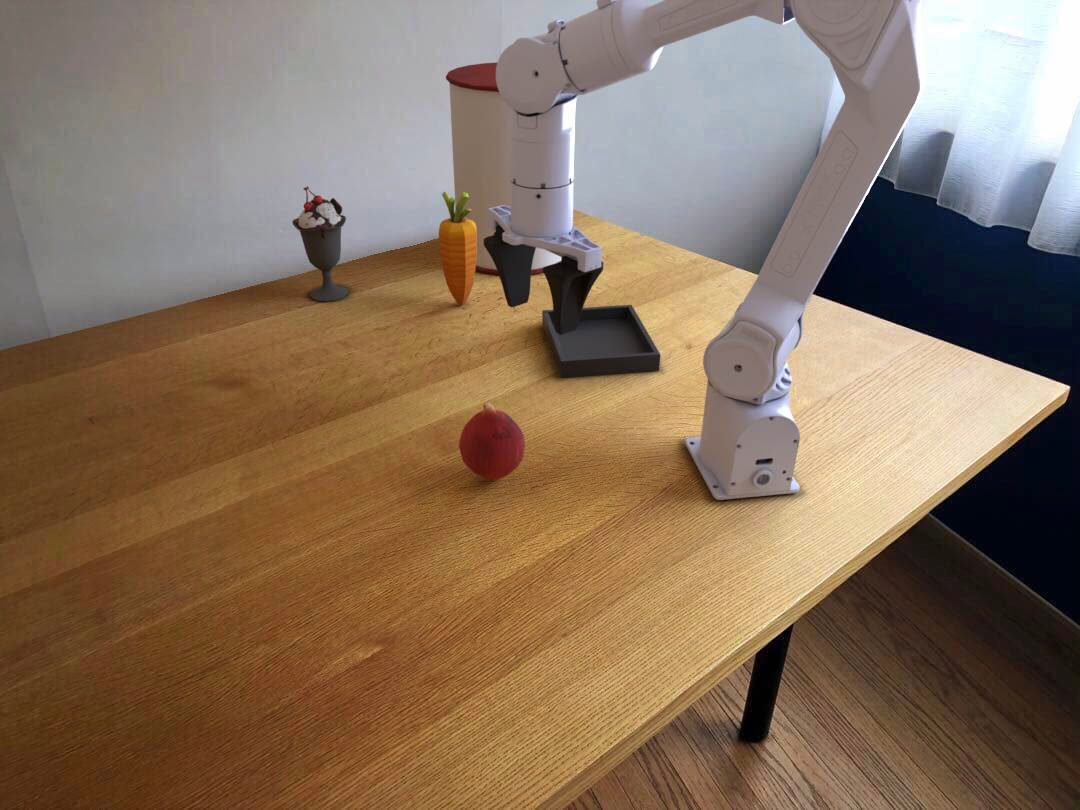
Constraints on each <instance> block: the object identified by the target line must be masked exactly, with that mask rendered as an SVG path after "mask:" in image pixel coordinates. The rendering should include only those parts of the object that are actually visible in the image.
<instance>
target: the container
mask: <svg viewBox="0 0 1080 810" xmlns="http://www.w3.org/2000/svg"><path fill="white" fill-rule="evenodd" d="M496 66H497V62H484V63H476V64H475V63H474V64H469V65H463V66H459V67H456V68H454V69H451V70H449V71H448V72H447V73H446V75H445V80H446V81H447V82H448V83H449V84H448V85H449V103H450V122H451V123H450V124H451V145H452V146H451V147H452V160H453V161H452V165H453V185H454V199H455V204H454V210H456V206H457V203H458V201H459V198H460V196H461V194H462V193H463V192H465V193H467V194H468V195H469V198H468V200H467V202H466V204H465V206H464V208H463V210H462V212H463V211H464V210H465V209H467V208H470V209H471V211H470V212H469V213H468V214H467V215H466V216H465V217H464V218H467V219H470V220H472V221H474V222H475V224H476V228H477V258H476V268H475V272H479V273H483V274H489V275H495V276H499V273H498V271H497V268H496V266H495V264H494V262H493V260H492V258H491V256H490V254H489V252H488V251H487V249H486V248H485V246H484V239H485V238H486V237H489V236H493V235H494V232H496V230H493V229H491V228H489V227H488V209H489V208H493V207H497V206H501V205H505V206H508V207H511V193H510V138H509V105H508V104H507V103H506V102H505V101H504V99H503V98H502V96H501V94H500V92H499V90H498V87H497V83H496ZM559 262H560V263H561V257H560V256H558V255H555V254H553V253H551V252H549V251H547V250H545V249H541V248H537V247H536V249H535V253H534V257H533V262H532V268H531V275H539V274H542V273H543V274H544V272H543V267H545V266H549V265H552V264H555V263H559Z"/></svg>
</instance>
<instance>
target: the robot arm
mask: <svg viewBox="0 0 1080 810" xmlns="http://www.w3.org/2000/svg"><path fill="white" fill-rule="evenodd" d="M922 3H923V0H662V1H660V2H659V1H658V2H657V3H654V4H653V5H651V4H650V3H647V2H645V1H643V0H596V6H597V8H596V9H594V10H592V11H589V12H587V13H585V14H581V15H580V16H577V17H575V18H573V19H571V20H568V21H566V22H565V20H564V19H563V18H559V19H556V20H553V21H551V22H549V23H548V24H547V26H546V27H547V32H546V33H543V34H539V35H535V36H532V37H519V38H517V39H516V40H515V41H514V42H513V43H512V44H509V46H507V47H506V48H505V49H504V50H503V51H502V53H500V56H499V57H498V59H497V62H496V63H497V66H496V83H497V87H498V90H499V92H500V94H501V96H502V98H503V99H504V101H505V102H506V103H507V104H508V105H509V138H510V193H511V207H508V206H505V205H501V206H497V207H493V208H489V209H488V227H489V228H491V229H493V230H496V232H494V235H493V236H489V237H486V238H485V239H484V246H485V248H486V249H487V251H488V252H489V254H490V256H491V258H492V260H493V262H494V264H495V266H496V268H497V271H498V273H499V275H498V277H499V279H500V283H501V286H502V290H503V293H504V296H505V301H506V304H507V306H508V307H509V308H515V307H518V306H521V305H524V304H527V303H528V302H529V299H530V293H531V282H532V281H531V279H532V274H531V268H532V262H533V257H534V253H535V249H536V247H537V248H541V249H545V250H547V251H549V252H551V253H553V254H555V255H558V256H560V257H561V263H560V262H559V263H555V264H552V265H549V266H545V267H543V274H544V276H545V279H546V281H547V284H548V287H549V291H550V295H551V301H552V310H553V315H554V326H555V330H556V333H558V334H560V335H562V334H565V333H568V332H571V331H574V330H576V328H577V325H578V322H579V318H580V315H581V312H582V309H583V308H584V306H585V303H586V300H587V298H588V296H589V293H590V291H591V290H592V288H593V286H594V285H595V283H596V281H597V279H598V278H599V277H600V275H601V274H602V272H603V271H604V261H603V260H602V257H603V247H602V246H601V245H599V244H597V243H595V242H594V241H592V240H591V239H590V238H588V237H587V236H586V235H585V234H584V233H583V232H582V231H581V230H580V229H579V228H578V227H577V226H576V225H575V224H574V191H575V190H574V185H575V180H574V179H575V141H576V137H575V136H576V105H577V100H578V98H579V96H586V95H589V94H591V93H593V92H596V91H599V90H602V89H604V88H607V87H610V86H613V85H615V84H618V83H620V82H623V81H626V80H628V79H632V78H634V77H637V76H639V75H642V74H645V73H647V72H650V71H652V69H654V67H655V66H656V64H657V62H658V60H659V58H660V55H661V53H662V51H663V49H664V48H665V46H669V45H671V44H674V43H677V42H680V41H682V40H685V39H688V38H690V37H691V38H692V37H694V36H697V35H700V34H702V33H705V32H708V31H711V30H714V29H717V28H720V27H722V26H725V25H728V24H731V23H733V22H738V21H739V20H743V19H745V18H748V17H753V16H755V17H757V18H761V19H763V20H766V21H768V22H771V23H774V24H777V25H780V26H781V25H782V26H783V25H786V24H787V23H789V22H791V21H793V20H795V22H796V24H797V25H798V26H799V28H800V29H801V31H802V32H803V33H804V34H805V35H806V37H807V38H808V39H809V40H810V41H811V42H812V43H813V44H814V45H815V46H816V47H817V48H818V49H819V50H820V51H821V52H822V53H823V54H824V55H825V56H826V57H827V58H828V59H829V62H830V64H831V67H832V69H833V71H834V73H835V76H836V78H837V81H838V82H839V84H840V85H839V86H840V87H841V89H842V92H843V95H844V100H843V103H842V105H841V106H840V109H839V111H838V113H837V114H836V117H835V119H834V121H833V123H832V125H831V127H830V129H829V131H828V133H827V135H826V137H825V139H824V141H823V144H822V145H821V147H820V149H819V151H818V153H817V155H816V158H815V160H814V161H813V163H812V166H811V167H810V169H809V171H808V173H807V175H806V178H805V179H804V181H803V183H802V185H801V188H800V190H799V192H798V194H797V195H796V197H795V199H794V202H793V204H792V206H791V208H790V210H789V213H788V214H787V215H786V218H785V219H784V221H783V224H782V226H781V228H780V230H779V232H778V234H777V236H776V238H775V240H774V243H773V245H772V246H771V248H770V251H769V252H768V255H767V257H766V258H765V260H764V263H763V264H762V267H761V269H760V270H759V273H758V275H757V277H756V279H755V281H754V283H753V284H752V286H751V288H750V290H749V291H748V293H747V294H746V296H745V298H744V299H743V301H742V302H741V303H740V304H739V305H738V307H737V308H736V310H735V312H734V314H733V315H732V317H731V318H730V320H728V322H727V323H726V325H725V326H724V327H723V328H722V329H721V331H720V332H719V333H718V334H717V335H716V336H715V337H713V338H712V339H711V340H710V341H709V343H707V345H706V347H705V350H704V353H703V358H702V366H703V371H704V374H705V376H706V378H707V382H706V391H705V399H704V406H703V407H704V408H703V416H702V424H701V432H700V436H696V437H695V436H694V437H687V438H685V439H684V445H685V447H686V448H687V451H688V452H689V454H690V456H691V458H692V460H693V462H694V464H695V465H696V467H697V469H698V471H699V473H700V475H701V476H702V479H703V480H704V482H705V485H706V486H707V488H708V490H709V492H710V493H711V495H712V497H713V499H715V500H717V501H723V500H735V499H747V498H755V497H766V496H778V495H785V494H797V493H799V492H800V489H801V487H800V485H799V483H798V482H797V480H796V479H795V478H794V471H795V466H796V461H797V456H798V452H799V451H798V450H799V446H800V440H801V433H800V432H801V431H800V428H799V427H798V424H797V422H796V420H795V419H794V417H793V413H792V410H791V407H790V395H791V388H792V387H791V386H792V382H793V378H792V376H791V370H790V367H789V365H788V362H787V361H788V359H789V357H790V356H791V354H792V352H793V351H794V350H795V349H796V348H797V347H798V346H799V345H800V342H801V340H802V338H803V333H804V322H803V319H804V314H805V311H806V308H807V307H808V305H809V303H810V302H811V299H812V296H813V293H814V291H815V290H816V288H817V286H818V284H820V283H819V282H820V281H821V279H822V278H823V275H824V274H825V272H826V270H827V268H828V266H829V265H830V262H831V261H832V259H833V257H834V255H835V254H836V252H837V250H838V248H839V246H840V245H841V243H842V241H843V239H844V237H845V235H846V233H847V232H848V230H849V228H850V226H851V224H852V223H853V221H854V219H855V217H856V215H857V213H858V212H859V210H860V208H861V206H862V204H863V203H864V200H865V198H866V196H867V195H868V194H869V192H870V190H871V188H872V186H873V184H874V182H875V181H876V179H877V177H878V175H879V173H880V172H881V170H882V168H883V166H884V164H885V162H886V160H887V159H888V157H889V155H890V153H891V151H892V149H893V148H894V146H895V144H896V142H897V140H898V139H899V137H900V135H901V133H902V131H903V129H905V126H906V124H907V123H908V120H909V119H910V117H911V115H912V113H913V111H914V109H915V108H916V106H917V104H918V102H919V100H920V98H921V97H922V95H923V92H924V89H925V85H926V83H927V70H926V57H925V43H924V42H925V41H924V25H923V11H922V6H923V5H922Z"/></svg>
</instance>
